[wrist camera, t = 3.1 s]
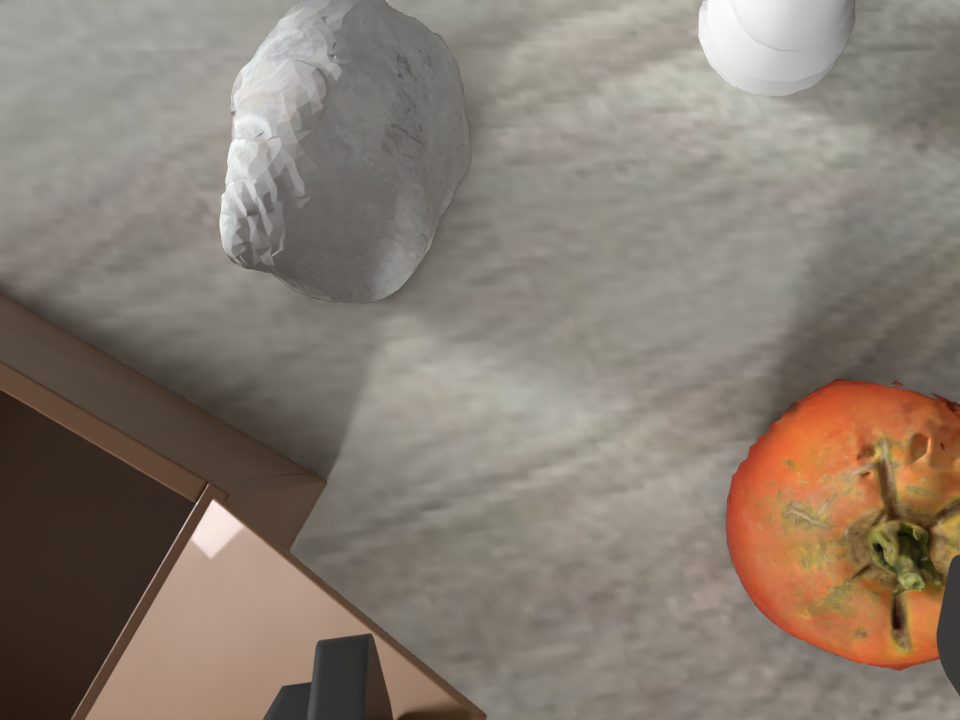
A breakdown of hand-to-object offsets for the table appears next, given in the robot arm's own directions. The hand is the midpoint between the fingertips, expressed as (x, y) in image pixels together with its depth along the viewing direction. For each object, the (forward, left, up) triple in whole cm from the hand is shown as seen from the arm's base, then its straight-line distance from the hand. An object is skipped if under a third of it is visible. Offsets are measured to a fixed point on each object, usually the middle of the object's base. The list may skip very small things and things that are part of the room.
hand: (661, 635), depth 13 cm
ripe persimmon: (-4, +7, -14) cm, 16 cm away
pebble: (-6, -11, -14) cm, 19 cm away
